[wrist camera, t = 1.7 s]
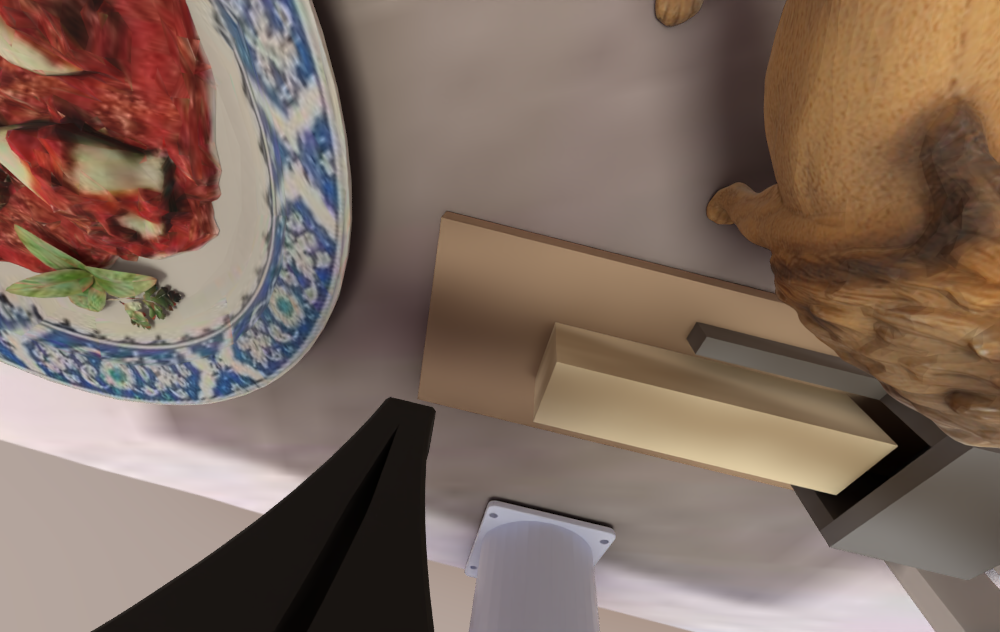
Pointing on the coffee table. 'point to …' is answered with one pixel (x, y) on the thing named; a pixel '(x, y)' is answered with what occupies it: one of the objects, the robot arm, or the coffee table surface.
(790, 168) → the lion figurine
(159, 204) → the ceramic plate
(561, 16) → the coffee table surface
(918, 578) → the toy llama
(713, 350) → the cradle
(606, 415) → the slat
